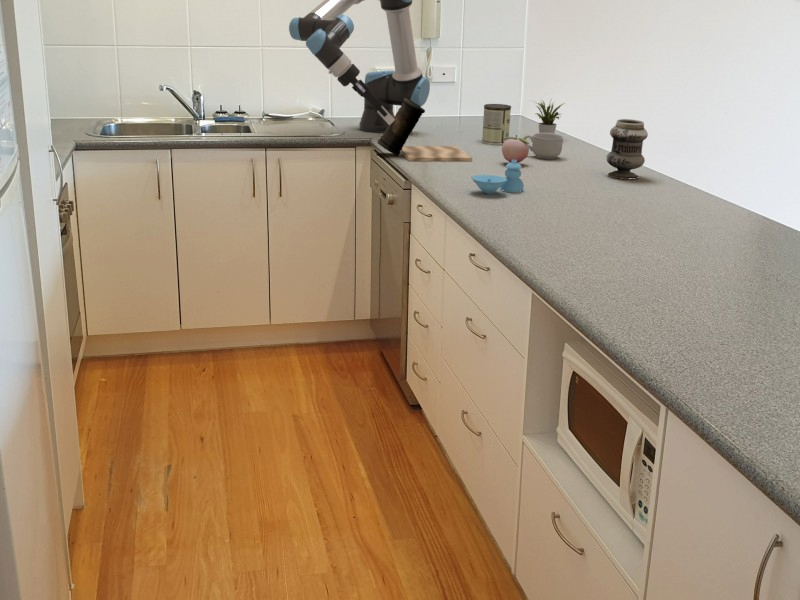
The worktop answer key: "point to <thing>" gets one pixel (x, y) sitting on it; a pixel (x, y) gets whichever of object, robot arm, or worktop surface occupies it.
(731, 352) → the worktop surface
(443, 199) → the worktop surface
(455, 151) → the wooden cutting board
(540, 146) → the teacup
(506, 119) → the coffee can
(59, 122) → the worktop surface
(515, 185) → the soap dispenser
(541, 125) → the house plant
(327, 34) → the robot arm
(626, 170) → the apothecary jar
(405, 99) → the container
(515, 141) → the decorative fruit
